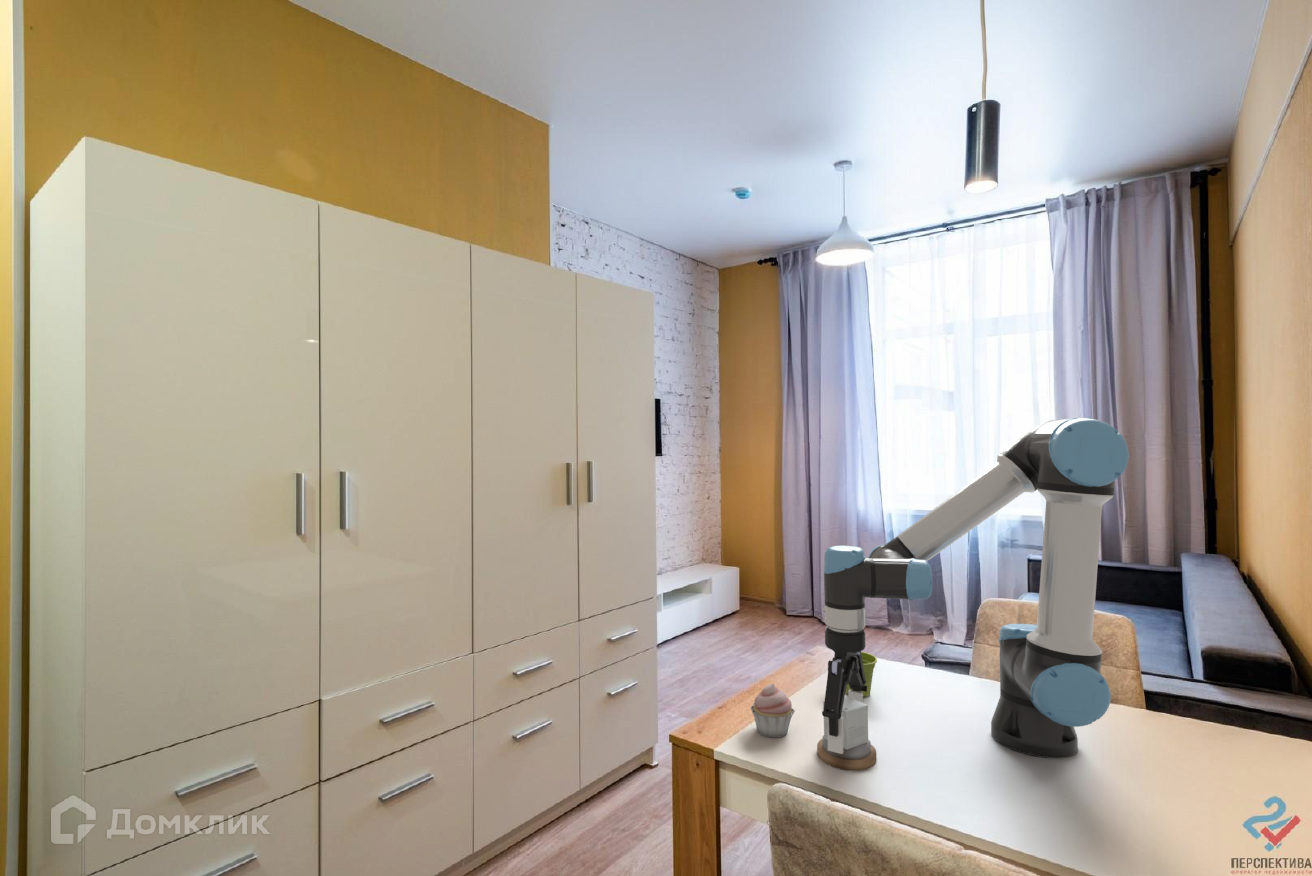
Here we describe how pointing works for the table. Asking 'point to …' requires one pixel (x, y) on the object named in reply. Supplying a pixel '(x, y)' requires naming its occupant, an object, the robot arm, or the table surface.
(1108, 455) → the robot arm
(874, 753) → the pedestal
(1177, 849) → the table surface
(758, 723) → the cupcake
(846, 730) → the product box
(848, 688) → the plant pot
